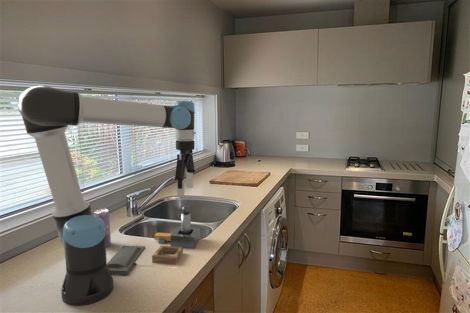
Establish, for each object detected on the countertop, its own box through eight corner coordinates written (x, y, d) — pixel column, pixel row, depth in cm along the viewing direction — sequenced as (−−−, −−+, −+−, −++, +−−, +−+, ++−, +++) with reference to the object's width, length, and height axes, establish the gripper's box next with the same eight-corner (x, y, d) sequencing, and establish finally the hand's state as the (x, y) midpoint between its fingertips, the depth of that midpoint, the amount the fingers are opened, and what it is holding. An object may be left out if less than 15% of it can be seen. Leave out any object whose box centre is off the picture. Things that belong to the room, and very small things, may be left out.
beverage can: (106, 240, 141) (104, 207, 139) (113, 244, 138) (112, 210, 135) (92, 245, 137) (90, 211, 134) (100, 249, 133) (98, 214, 131)
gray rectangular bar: (189, 245, 136) (189, 208, 134) (179, 244, 137) (179, 207, 134) (191, 241, 140) (191, 205, 138) (182, 240, 141) (182, 204, 138)
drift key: (170, 240, 138) (170, 236, 137) (154, 239, 139) (154, 235, 138) (172, 238, 141) (172, 233, 140) (157, 236, 142) (157, 232, 141)
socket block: (194, 251, 133) (194, 237, 132) (156, 248, 135) (156, 234, 134) (200, 241, 143) (200, 228, 142) (165, 238, 145) (164, 225, 144)
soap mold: (146, 250, 134) (146, 242, 133) (128, 276, 114) (127, 267, 114) (122, 249, 135) (121, 241, 134) (99, 275, 115) (99, 266, 114)
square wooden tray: (175, 266, 120) (175, 258, 120) (152, 264, 122) (152, 256, 121) (182, 255, 129) (182, 247, 129) (160, 253, 130) (160, 245, 130)
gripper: (185, 144, 119) (185, 200, 122) (201, 136, 143) (201, 184, 146) (165, 143, 120) (166, 199, 123) (184, 136, 144) (185, 183, 147)
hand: (185, 191), depth 135 cm, fingers open, 12 cm apart
